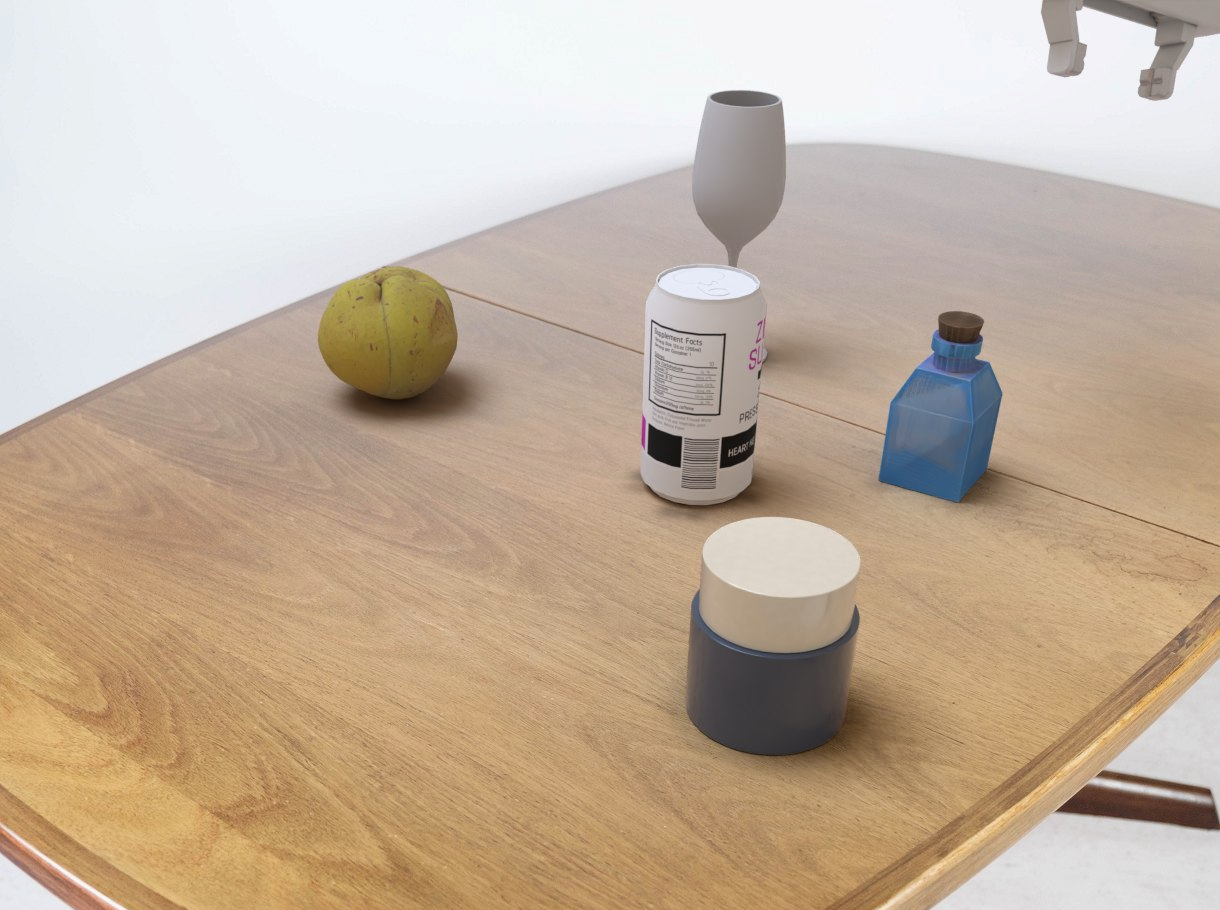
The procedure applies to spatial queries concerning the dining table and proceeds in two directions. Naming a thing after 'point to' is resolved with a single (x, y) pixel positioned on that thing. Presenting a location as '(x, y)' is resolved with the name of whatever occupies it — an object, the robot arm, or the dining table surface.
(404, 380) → the fruit
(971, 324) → the perfume bottle
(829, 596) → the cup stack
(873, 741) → the dining table surface
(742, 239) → the wineglass
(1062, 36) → the robot arm
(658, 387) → the supplement can
